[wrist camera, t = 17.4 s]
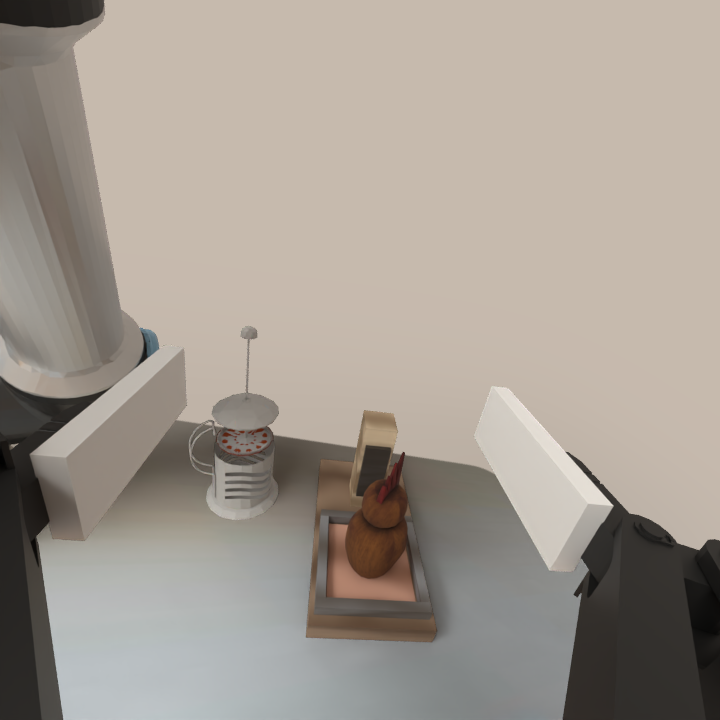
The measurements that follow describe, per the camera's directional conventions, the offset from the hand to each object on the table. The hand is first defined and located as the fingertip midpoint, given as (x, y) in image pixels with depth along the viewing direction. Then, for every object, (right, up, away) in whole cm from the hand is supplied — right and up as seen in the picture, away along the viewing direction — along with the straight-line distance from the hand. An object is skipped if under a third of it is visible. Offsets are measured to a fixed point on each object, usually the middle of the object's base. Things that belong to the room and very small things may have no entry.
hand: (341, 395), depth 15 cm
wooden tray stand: (+1, -22, +31) cm, 38 cm away
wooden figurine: (+2, -22, +26) cm, 34 cm away
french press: (-17, -17, +34) cm, 42 cm away
